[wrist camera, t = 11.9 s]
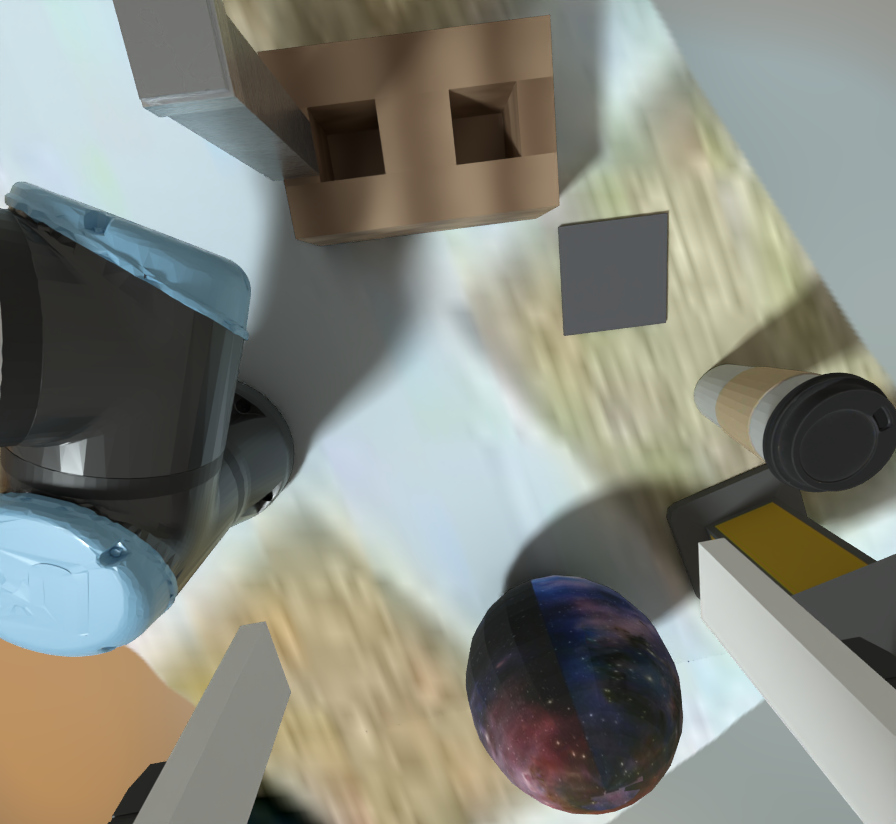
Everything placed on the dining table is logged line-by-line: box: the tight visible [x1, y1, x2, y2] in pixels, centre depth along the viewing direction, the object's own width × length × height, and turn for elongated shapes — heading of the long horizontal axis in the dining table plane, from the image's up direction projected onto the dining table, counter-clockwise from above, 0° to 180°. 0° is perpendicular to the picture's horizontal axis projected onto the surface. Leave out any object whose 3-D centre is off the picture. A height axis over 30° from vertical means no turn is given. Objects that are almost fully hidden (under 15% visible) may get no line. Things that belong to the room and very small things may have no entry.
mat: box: [558, 213, 667, 336], centre depth 44 cm, size 10×10×1 cm
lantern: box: [666, 464, 896, 657], centre depth 38 cm, size 14×14×30 cm
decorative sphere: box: [466, 575, 683, 814], centre depth 45 cm, size 19×20×20 cm
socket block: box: [258, 15, 560, 246], centre depth 37 cm, size 20×12×8 cm, turn 97°
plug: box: [113, 0, 320, 181], centre depth 25 cm, size 4×4×16 cm
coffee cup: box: [694, 364, 896, 492], centre depth 40 cm, size 9×9×15 cm
